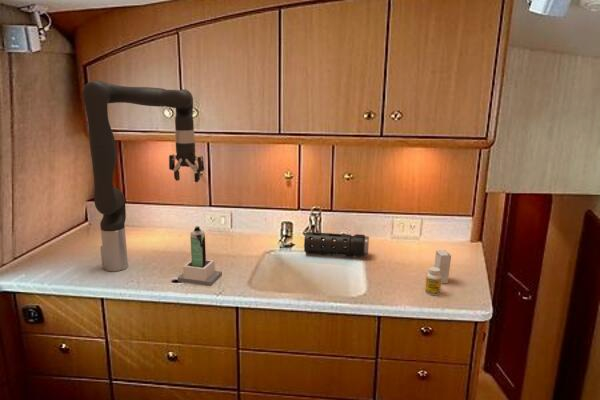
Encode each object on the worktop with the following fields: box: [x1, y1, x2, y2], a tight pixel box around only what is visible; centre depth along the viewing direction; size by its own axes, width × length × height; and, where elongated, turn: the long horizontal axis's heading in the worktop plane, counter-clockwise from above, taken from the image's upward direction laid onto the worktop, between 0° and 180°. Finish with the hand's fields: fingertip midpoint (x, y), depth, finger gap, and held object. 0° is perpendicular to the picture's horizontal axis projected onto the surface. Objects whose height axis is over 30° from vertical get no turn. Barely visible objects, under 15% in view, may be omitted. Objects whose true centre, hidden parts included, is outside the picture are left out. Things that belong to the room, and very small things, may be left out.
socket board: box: [177, 259, 223, 287], centre depth 194 cm, size 14×10×6 cm
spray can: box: [190, 225, 207, 268], centre depth 192 cm, size 6×6×20 cm
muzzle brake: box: [303, 231, 370, 258], centre depth 219 cm, size 10×28×10 cm, turn 81°
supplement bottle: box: [424, 266, 442, 296], centre depth 184 cm, size 5×5×10 cm
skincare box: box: [433, 249, 452, 284], centre depth 194 cm, size 6×4×12 cm
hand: (187, 181), depth 199 cm, fingers open, 8 cm apart
